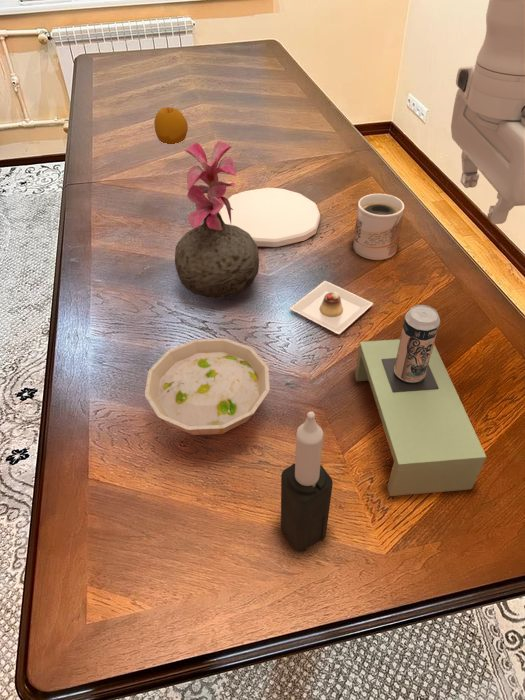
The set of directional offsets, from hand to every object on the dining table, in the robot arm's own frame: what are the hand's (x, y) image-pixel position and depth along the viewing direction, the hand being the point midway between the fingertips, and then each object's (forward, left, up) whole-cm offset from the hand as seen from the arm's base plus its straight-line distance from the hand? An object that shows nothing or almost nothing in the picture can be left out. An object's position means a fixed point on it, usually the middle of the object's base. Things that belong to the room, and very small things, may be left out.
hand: (481, 202), depth 70 cm
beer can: (+7, +6, -25) cm, 27 cm away
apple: (+48, -102, -34) cm, 118 cm away
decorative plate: (+23, -56, -34) cm, 69 cm away
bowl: (+38, +5, -34) cm, 51 cm away
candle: (+26, +26, -34) cm, 50 cm away
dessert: (+14, -20, -34) cm, 41 cm away
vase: (+36, -30, -34) cm, 58 cm away
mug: (0, -42, -34) cm, 54 cm away
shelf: (+7, +10, -33) cm, 36 cm away
